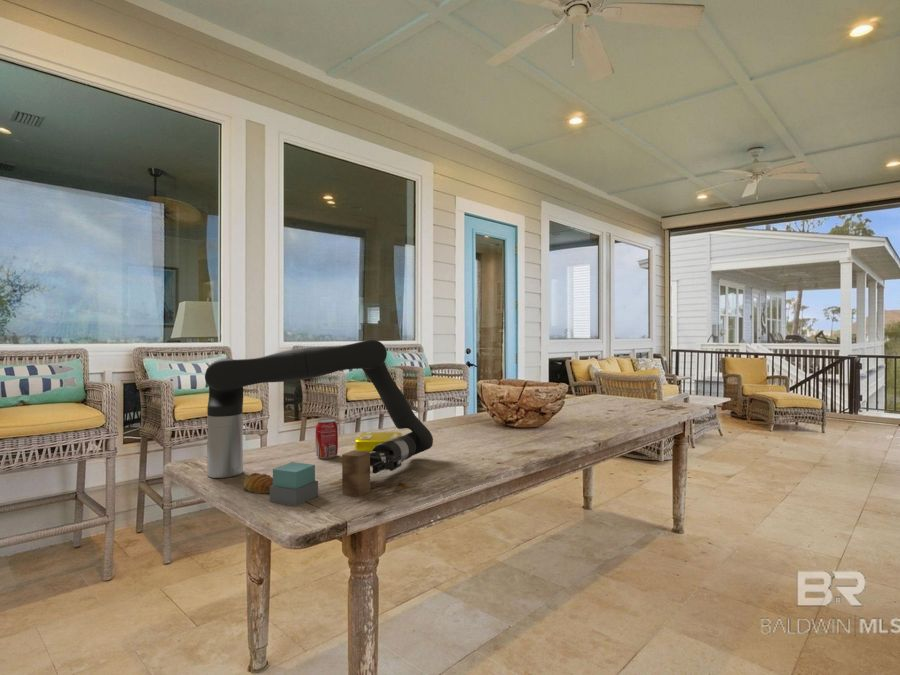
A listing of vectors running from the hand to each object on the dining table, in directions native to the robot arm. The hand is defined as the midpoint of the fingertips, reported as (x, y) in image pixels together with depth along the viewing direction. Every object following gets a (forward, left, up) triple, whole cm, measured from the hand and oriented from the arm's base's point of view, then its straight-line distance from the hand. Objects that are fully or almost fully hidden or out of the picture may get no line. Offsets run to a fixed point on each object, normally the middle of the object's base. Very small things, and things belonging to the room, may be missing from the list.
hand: (359, 467), depth 125 cm
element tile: (-30, +38, -7) cm, 49 cm away
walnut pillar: (0, -1, -6) cm, 6 cm away
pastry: (-22, -14, -6) cm, 27 cm away
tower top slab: (-9, -13, -2) cm, 16 cm away
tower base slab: (-9, -14, -6) cm, 17 cm away
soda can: (-35, +18, -6) cm, 39 cm away
